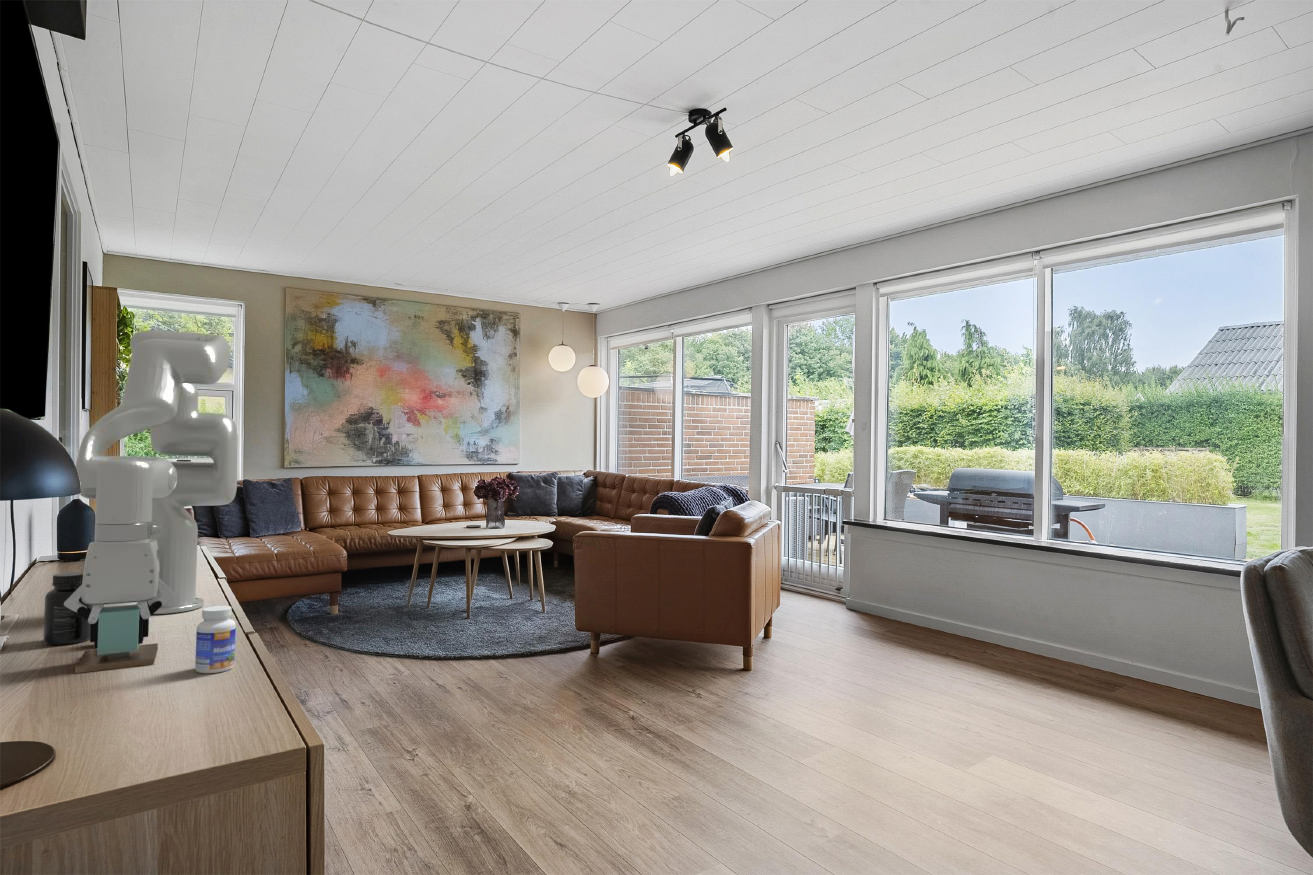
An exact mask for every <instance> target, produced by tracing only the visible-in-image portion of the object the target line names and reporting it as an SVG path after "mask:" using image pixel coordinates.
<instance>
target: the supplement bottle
mask: <svg viewBox="0 0 1313 875" xmlns="http://www.w3.org/2000/svg"><path fill="white" fill-rule="evenodd" d="M83 572H84V571H74V572H61V573H56V574H54V575H52V583H51V586H52V587H53V588H52V589H51V590H49V591H47V593H46V594H45V596H44V611H43V643H44V644H45V645H47V646H64V645H72V644H73V645H74V644H77V643H78V644H79V643H83V642H86V641H88V640H90V625H91V624H90V623H89V622H88V621H87V620H86V619H84V618H83V617H82V616H80V615H79V614H78V613H77V612H75V611H73V610H71V609H69V608H67V607H65V606H64V602H65V601H66V600H67V599H68V598H69V597H70V596H71V595H72V594H73V593H74V592H75V591H76V590H77V589H78V588H79V587H80V586H81V585H82V581H83ZM79 602H80V603H81V604H83V605H85V606H87V607H88V608H90V609H91V610H92V608H93V605H88V604H85V603H83V601H82V596H81V597H80V598H79Z"/></svg>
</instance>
